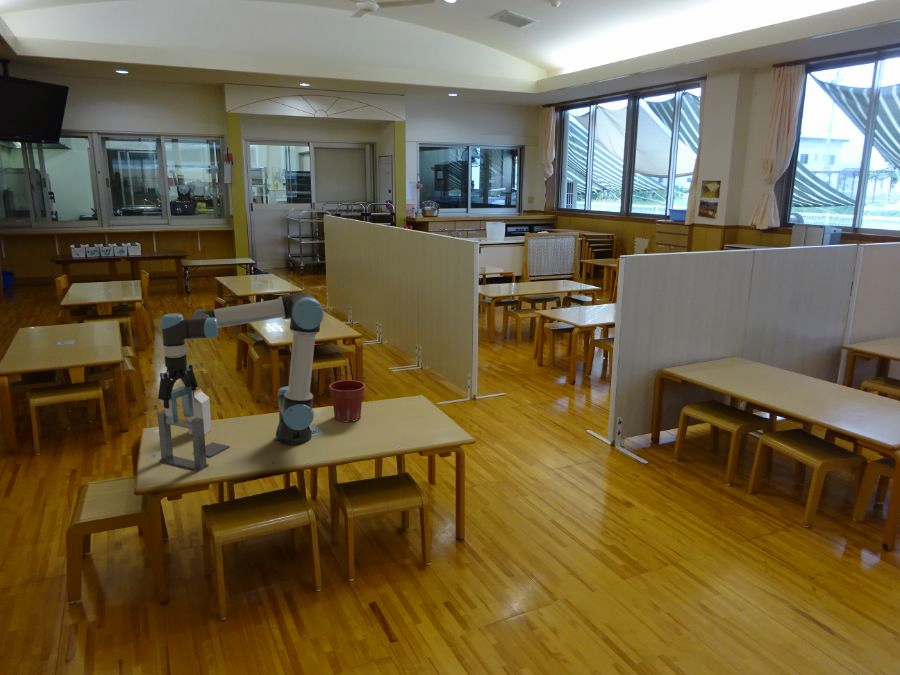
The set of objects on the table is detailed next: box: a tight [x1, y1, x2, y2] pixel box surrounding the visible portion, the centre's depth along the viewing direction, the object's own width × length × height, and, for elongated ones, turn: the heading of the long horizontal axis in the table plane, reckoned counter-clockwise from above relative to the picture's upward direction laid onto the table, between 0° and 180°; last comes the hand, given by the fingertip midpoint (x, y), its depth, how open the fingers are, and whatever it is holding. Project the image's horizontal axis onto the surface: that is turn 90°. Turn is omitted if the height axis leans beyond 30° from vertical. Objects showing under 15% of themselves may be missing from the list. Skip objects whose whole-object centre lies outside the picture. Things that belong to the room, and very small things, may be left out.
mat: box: [192, 442, 231, 458], centre depth 264 cm, size 9×11×1 cm
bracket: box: [166, 384, 194, 424], centre depth 245 cm, size 10×3×12 cm, turn 157°
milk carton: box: [186, 388, 212, 436], centre depth 279 cm, size 7×7×19 cm
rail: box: [157, 410, 210, 472], centre depth 249 cm, size 20×5×20 cm, turn 67°
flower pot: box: [329, 379, 366, 422], centre depth 301 cm, size 16×16×16 cm
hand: (180, 411), depth 246 cm, fingers closed on bracket, 10 cm apart
